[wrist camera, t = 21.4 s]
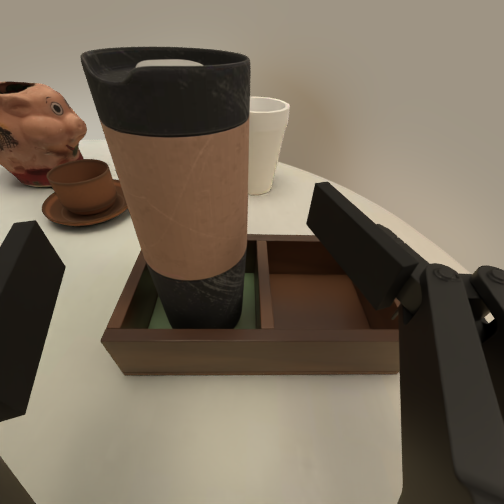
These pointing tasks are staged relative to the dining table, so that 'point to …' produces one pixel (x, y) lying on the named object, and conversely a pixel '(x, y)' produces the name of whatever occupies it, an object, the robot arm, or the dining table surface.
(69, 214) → the cup and saucer
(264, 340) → the divided box
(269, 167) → the foam cup
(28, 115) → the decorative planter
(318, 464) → the dining table surface
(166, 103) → the travel mug
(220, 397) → the dining table surface
